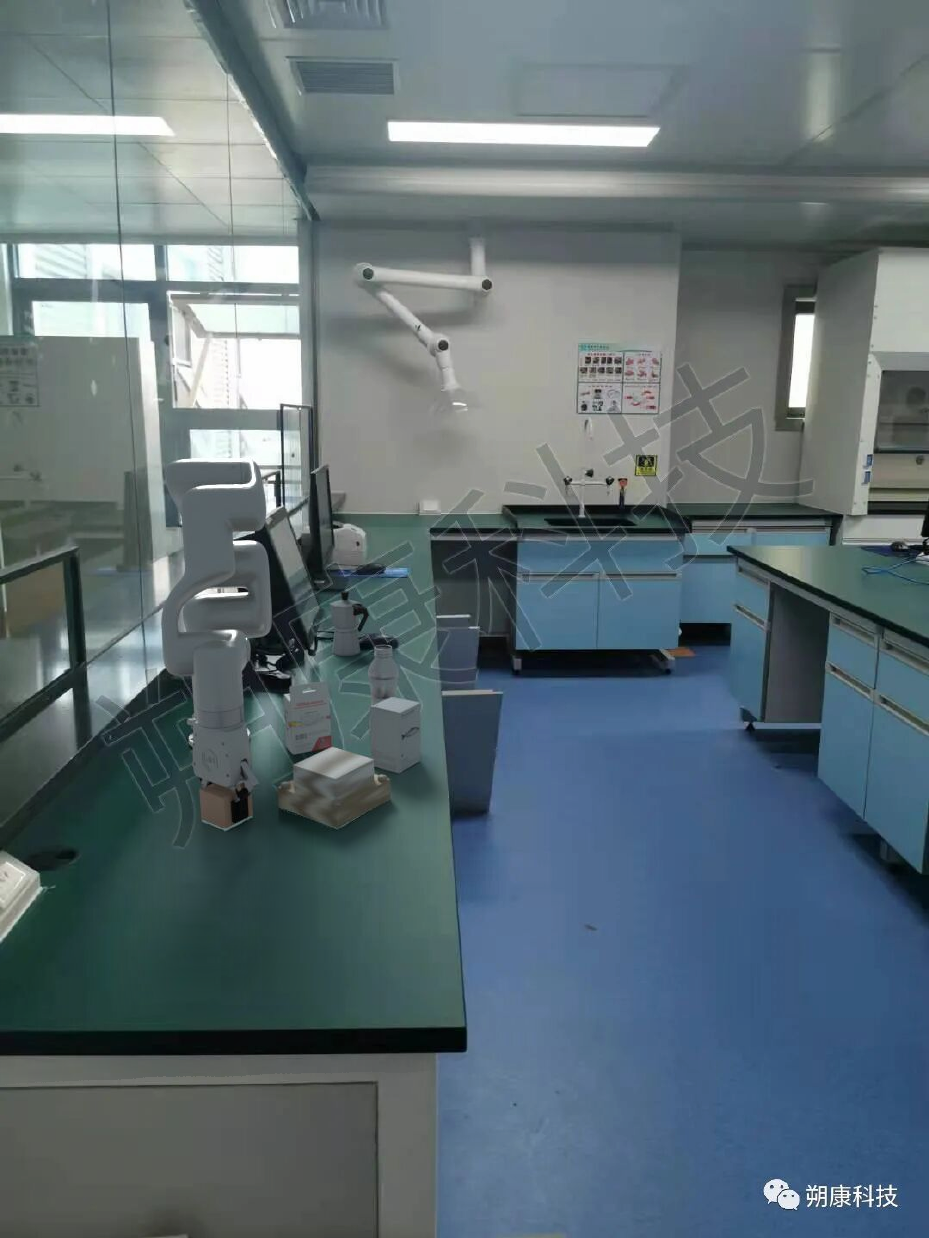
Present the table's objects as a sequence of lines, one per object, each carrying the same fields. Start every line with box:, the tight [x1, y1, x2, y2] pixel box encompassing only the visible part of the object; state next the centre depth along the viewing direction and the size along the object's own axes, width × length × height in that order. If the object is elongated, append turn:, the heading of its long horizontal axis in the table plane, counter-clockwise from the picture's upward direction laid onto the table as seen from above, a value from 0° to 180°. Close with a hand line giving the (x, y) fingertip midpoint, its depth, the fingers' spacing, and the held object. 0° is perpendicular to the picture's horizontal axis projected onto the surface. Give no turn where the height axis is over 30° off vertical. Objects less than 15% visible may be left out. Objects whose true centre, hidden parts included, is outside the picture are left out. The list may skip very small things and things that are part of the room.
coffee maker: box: [328, 590, 370, 657], centre depth 240 cm, size 15×9×18 cm, turn 55°
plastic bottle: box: [367, 644, 400, 729], centre depth 178 cm, size 6×7×20 cm
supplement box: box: [369, 697, 421, 774], centre depth 165 cm, size 7×7×13 cm
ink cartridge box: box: [283, 680, 333, 756], centre depth 172 cm, size 9×5×15 cm, turn 117°
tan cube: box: [198, 783, 254, 828], centre depth 143 cm, size 6×6×6 cm
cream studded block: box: [277, 746, 391, 828], centre depth 149 cm, size 14×14×8 cm
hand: (226, 813), depth 143 cm, fingers closed on tan cube, 6 cm apart
